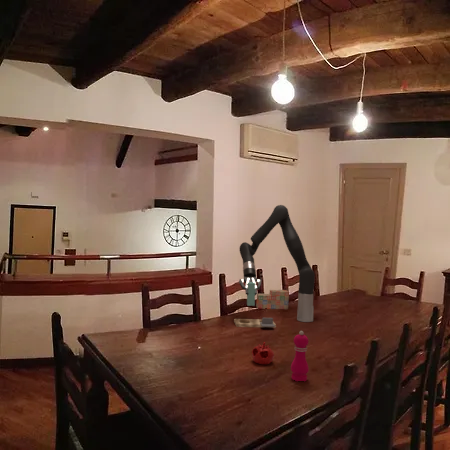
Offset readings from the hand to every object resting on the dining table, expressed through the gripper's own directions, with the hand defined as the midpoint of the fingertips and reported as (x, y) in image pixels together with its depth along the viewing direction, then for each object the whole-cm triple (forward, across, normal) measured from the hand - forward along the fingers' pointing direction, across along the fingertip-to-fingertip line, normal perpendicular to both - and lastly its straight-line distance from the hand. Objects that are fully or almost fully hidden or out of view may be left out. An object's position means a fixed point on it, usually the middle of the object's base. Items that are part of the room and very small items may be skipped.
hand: (251, 294), depth 260 cm
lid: (+16, +9, +7) cm, 20 cm away
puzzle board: (+12, +3, +15) cm, 19 cm away
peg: (+3, 0, +6) cm, 7 cm away
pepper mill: (+69, +9, -42) cm, 81 cm away
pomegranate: (+55, -3, -29) cm, 62 cm away
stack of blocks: (-20, +22, +47) cm, 56 cm away
